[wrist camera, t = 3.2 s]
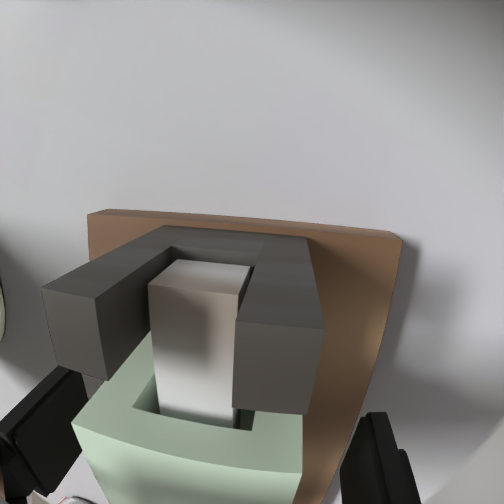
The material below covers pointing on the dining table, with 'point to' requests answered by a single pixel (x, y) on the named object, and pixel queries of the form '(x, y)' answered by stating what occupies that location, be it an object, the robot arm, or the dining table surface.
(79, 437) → the sleeve
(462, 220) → the dining table surface
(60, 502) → the soda can
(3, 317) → the coffee can
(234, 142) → the dining table surface
